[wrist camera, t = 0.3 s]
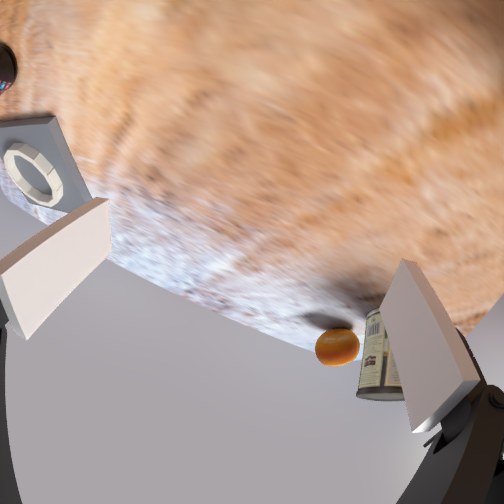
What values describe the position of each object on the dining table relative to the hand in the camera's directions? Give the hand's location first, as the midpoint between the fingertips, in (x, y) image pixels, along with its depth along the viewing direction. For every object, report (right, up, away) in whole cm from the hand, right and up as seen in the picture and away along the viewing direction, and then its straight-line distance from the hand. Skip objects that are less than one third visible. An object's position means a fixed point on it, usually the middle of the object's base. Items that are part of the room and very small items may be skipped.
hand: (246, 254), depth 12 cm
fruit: (+18, -15, +42) cm, 47 cm away
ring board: (-32, +13, +21) cm, 40 cm away
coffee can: (+25, -11, +33) cm, 42 cm away
